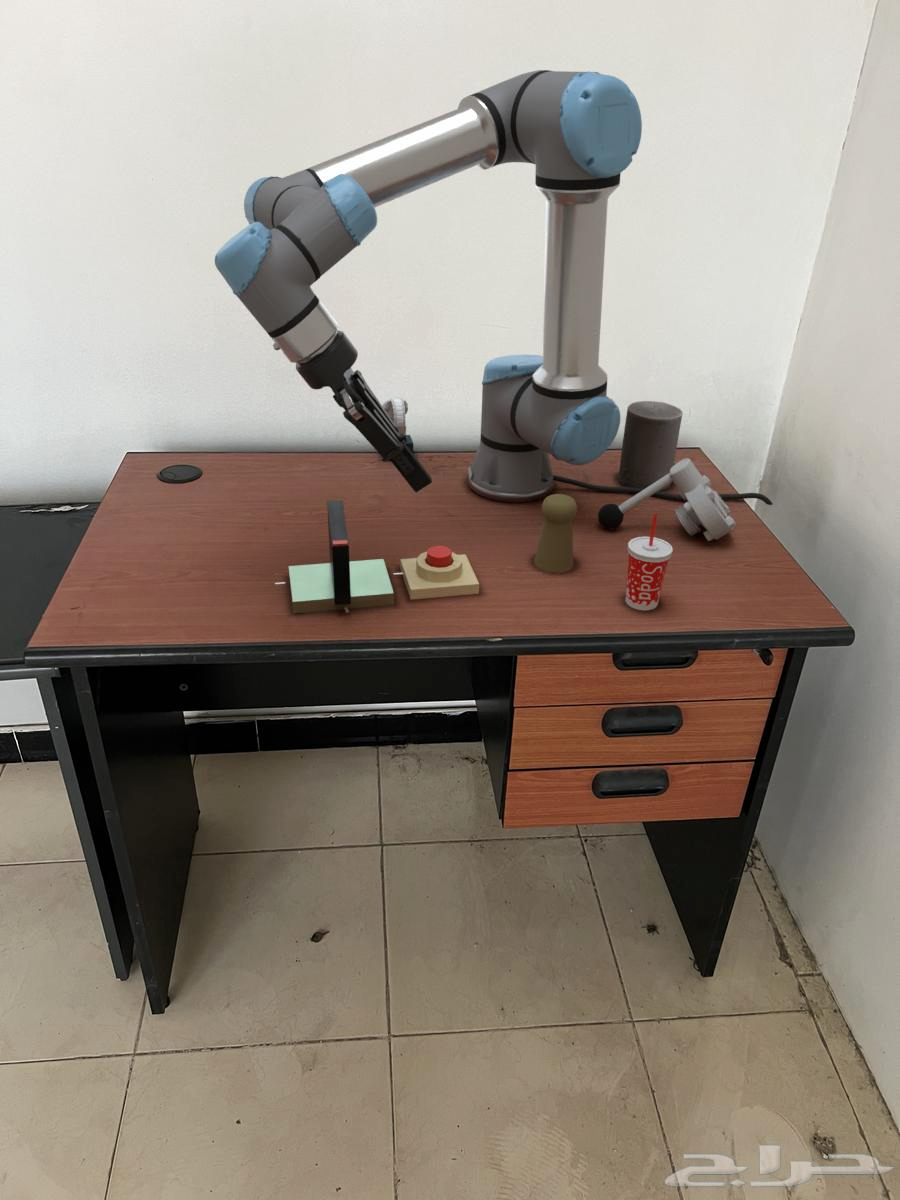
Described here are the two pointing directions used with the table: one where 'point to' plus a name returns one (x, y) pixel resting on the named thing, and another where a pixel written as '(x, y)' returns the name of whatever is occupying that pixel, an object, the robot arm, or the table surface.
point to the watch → (398, 417)
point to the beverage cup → (646, 570)
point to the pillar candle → (649, 443)
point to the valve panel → (317, 587)
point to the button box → (438, 577)
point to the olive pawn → (556, 534)
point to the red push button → (439, 556)
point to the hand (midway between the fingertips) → (423, 485)
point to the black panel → (339, 552)
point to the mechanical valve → (696, 511)
